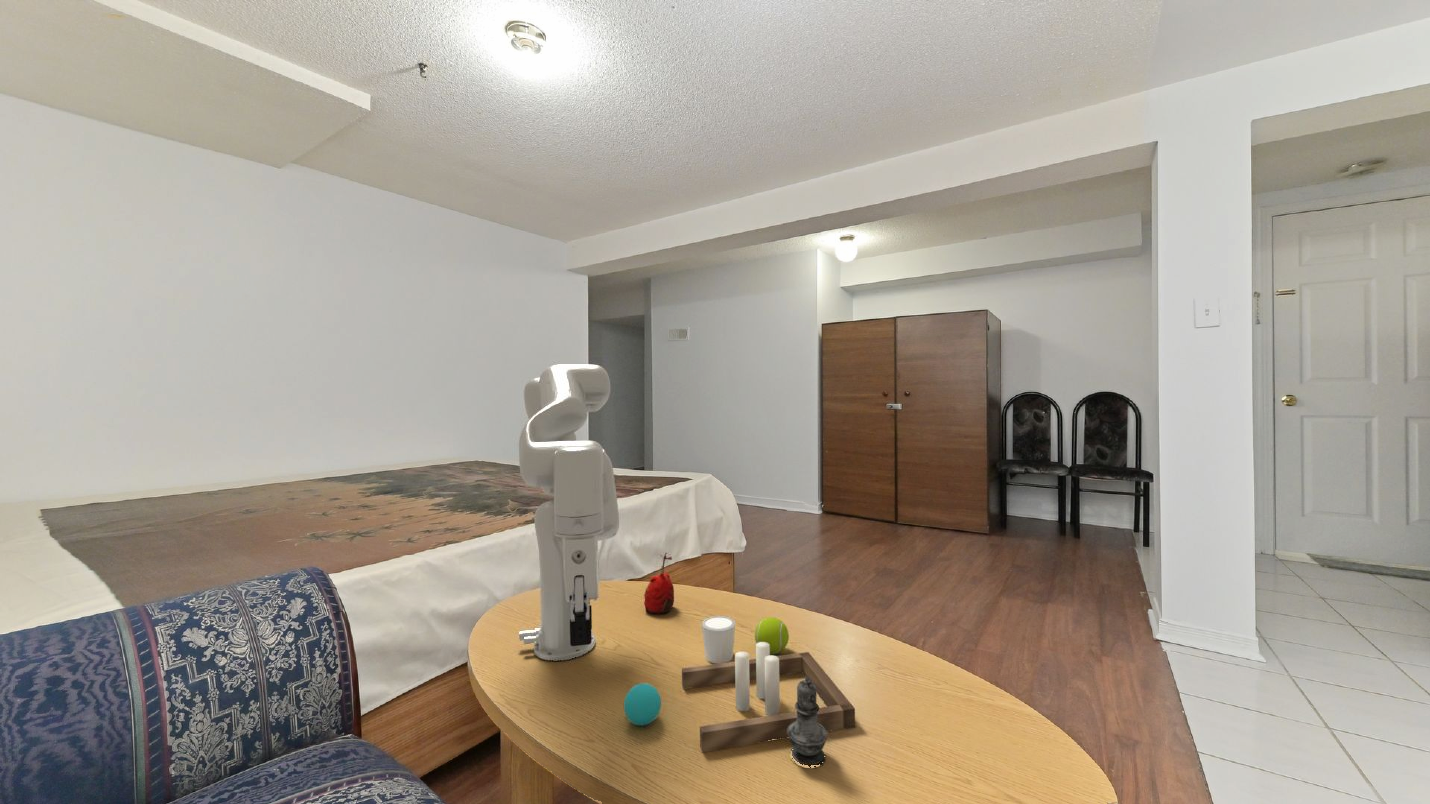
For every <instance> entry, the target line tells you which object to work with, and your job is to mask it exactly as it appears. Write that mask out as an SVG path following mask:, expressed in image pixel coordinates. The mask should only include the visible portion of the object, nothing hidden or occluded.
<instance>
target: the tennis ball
mask: <svg viewBox="0 0 1430 804" xmlns="http://www.w3.org/2000/svg"><path fill="white" fill-rule="evenodd" d="M789 637H790V635H789V630H788V627H787V625H786V624H785V623H784V622H783V621H782V620H781V619H779V618H776V617H773V616H772V617H771V616H769V617H766V618H763V619H761V620H760V621H759V622H758V624H757V625H756V627H755V630H754V640H755V643H756V644H757V643H759V642H766V643H768V644H769V645H770V655H777V654H780V653H781V652H783V651H784V650H785V649H786V647H787V645H788V643H789Z"/></svg>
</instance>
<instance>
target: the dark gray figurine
mask: <svg viewBox="0 0 1430 804" xmlns="http://www.w3.org/2000/svg"><path fill="white" fill-rule="evenodd" d="M808 679H809V678H808V677H807V676H806V677H805V676H804V678H803V680H801V681H799V682H798V683H797V685H796V695H797V696H796V699H797V700H796V702H795V704H794V709H795V711H797V721H796V722H793V723H792V724H790V726H789V727H788V729H787V734H788V736H789V738H788V739H789V741H790V744H791V746H792V748H790V750H791V751H792V756H793V758H794V759H795V760H796V761H797V762H799V763H800V764H802V765H803V764H804V765H808V766H809V767H810V766H811V765H819V764H820V765H822V764H823V763H822V762H825V763H826V760H825V759H827V758H825V757H824V756H826V754H824V753H825V752H824V751H823V749H824V747H825V744H826V741H827V740H828V735H829V734H828V732H827V731H826V729H825V728H824V727H823V726H822V725H820V724H819V723H818V722H817V712H818V711H819V708H820V706H819V704H818V703H817V692H816V686H815V684H814V683H813V682H811V681H809V680H808ZM792 749H793V750H792ZM793 758H792V759H793ZM794 762H795V761H794ZM823 765H824V764H823ZM823 765H822V766H823ZM814 767H816V766H814ZM810 768H811V767H810Z"/></svg>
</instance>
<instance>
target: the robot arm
mask: <svg viewBox="0 0 1430 804" xmlns="http://www.w3.org/2000/svg"><path fill="white" fill-rule="evenodd" d="M523 389H524V391H523V400H524V407H525V411H526V414H527V418H528V421H526V423H525V424H524V425H523V428H522V429H521V432H520V436H519V440H518V456H519V457H518V459H519V460H518V461H519V471H520V477H521V478H522V480H523V482H524V483H525V484H526V485H528V486H530V487H534V488H540V487H541V490H542V492H543V493H544V494H546V495H548V496H553V499H552V500H548V501H546V502H544V503H542V504H540V505H539V506H538V507H537V509H536V510H535V512H534V522H533V523H534V530H535V535H536V541H537V546H538V557H539V558H538V559H539V579H540V580H539V582H540V583H539V584H540V588H539V589H540V626H539V627H535V629H532V630H529V629H527V630H520V631H519V635H518V636H519V641H523V645H529V644H530V645H531V644H533V643H534V645H533V652H534V655H535V656H536V657H538V658H539V659H542V660H545V661H550V660H551V662H553V661H554V662H558V660H559V662H560V660H561V661H569V660H573V659H576V658H578V657H581V656H583V654H584V655H585V654H588V653H589V652H590V651H591V650H592V649H593V648H594V647H595V645H596V636H595V635H594V633H593V632H592V630H593V629H592V628H593V626H592V625H593V620H592V619H593V618H592V613H593V611H592V610H593V609H592V605H591V600H593V601H594V602H595V601H597V600H598V599H599V596H600V595H599V586H600V585H599V583H600V581H599V580H600V579H599V574H600V573H599V545H598V541H605V540H610V539H613V538H614V537H615V536H617V534H618V532H619V528H620V515H619V514H620V513H619V505H618V497H617V489H616V488H617V487H616V481H615V473H614V468H613V464H612V460H611V458H610V456H609V455H608V454H607V453H606V450H605V448H603V446H602V445H601V444H600V443H599V442H597V441H595V440H588V439H586V440H585V439H581V440H580V439H579V440H577V436H576V433H575V432H577V431H578V430H580V429H581V428H582V427H584V425H585V423H586V421H587V418H588V413H594V412H598V411H599V410H601V409H602V407H604V406H605V404H606V403H607V402H608V400H609V398H610V394H611V381H610V377H609V374H608V372H607V370H606V369H605V368H604V367H602V366H601V365H600V364H599V365H598V364H589V363H587V364H585V363H584V364H583V363H582V364H578V363H577V364H573V363H571V364H567V363H565V364H564V363H562V364H561V363H560V364H554V365H551V366H548V367H547V368H545V369H544V370H542V372H541V374H540V375H539V377H536V378H532V379H531V380H529V381H527V383H526V384H525V386H524V388H523ZM588 651H589V652H588ZM575 657H576V658H575ZM572 658H573V659H572ZM552 660H553V661H552Z"/></svg>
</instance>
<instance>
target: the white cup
mask: <svg viewBox="0 0 1430 804" xmlns="http://www.w3.org/2000/svg"><path fill="white" fill-rule="evenodd" d="M701 628H702V637H703V638H702V639H703V640H702V641H703V647H704V656H705V659H706V661H708V662H710V663H711V664H712V663H713V664H720V663H727V662H731V661H732V659H733V657H734V656H733V655H734V643H735V631H736V621H735V620H734V619H733V618H732V617H728V616H723V615H721V616H720V615H718V616H717V615H716V616H715V615H714V616H709V617H708V618H705V619H704V620H703V621H702V622H701Z"/></svg>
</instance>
